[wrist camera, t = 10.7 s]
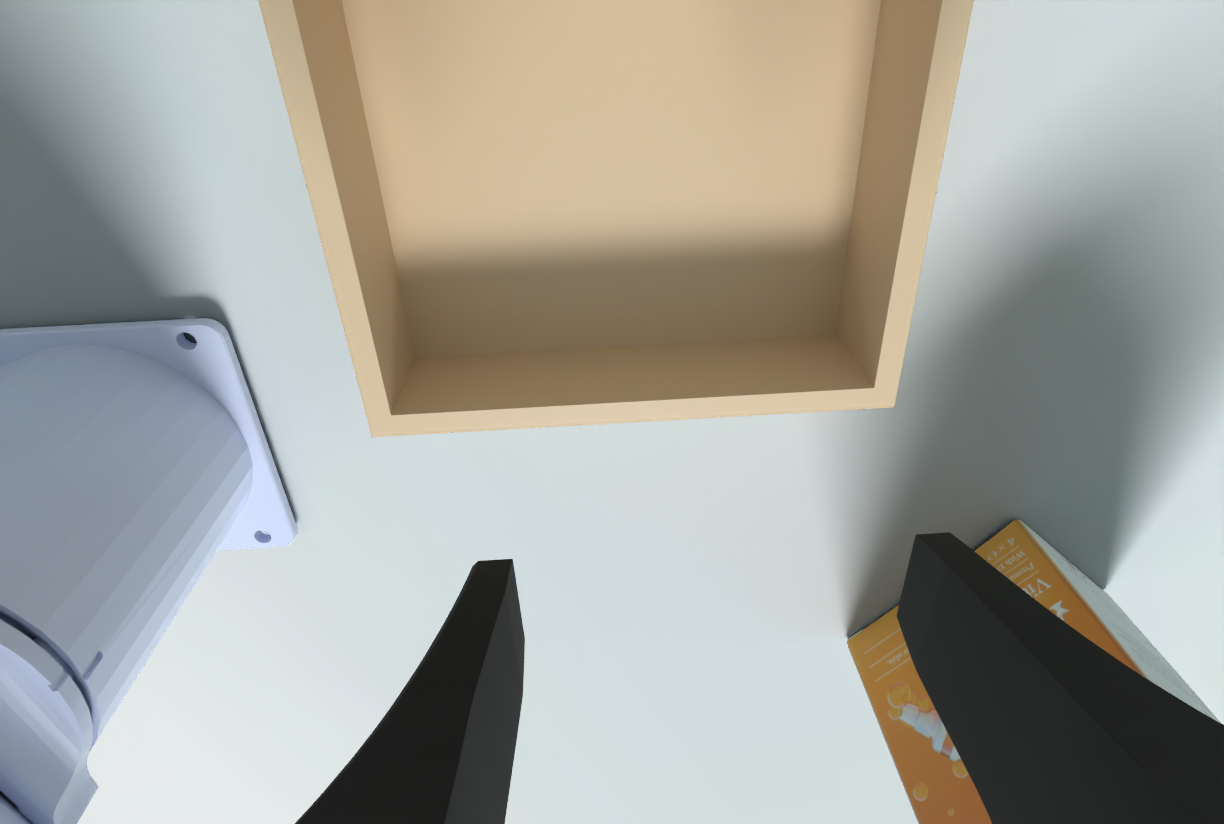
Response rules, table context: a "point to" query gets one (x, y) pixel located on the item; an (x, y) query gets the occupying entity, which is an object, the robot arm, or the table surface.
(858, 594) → the table surface
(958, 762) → the small box
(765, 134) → the shallow wooden tray
